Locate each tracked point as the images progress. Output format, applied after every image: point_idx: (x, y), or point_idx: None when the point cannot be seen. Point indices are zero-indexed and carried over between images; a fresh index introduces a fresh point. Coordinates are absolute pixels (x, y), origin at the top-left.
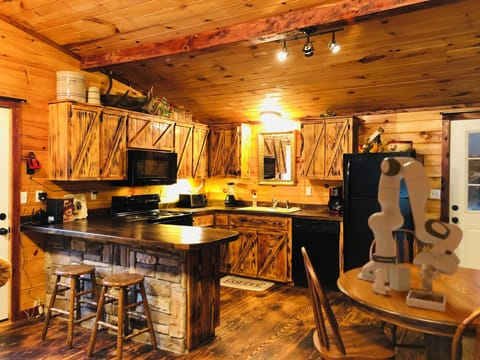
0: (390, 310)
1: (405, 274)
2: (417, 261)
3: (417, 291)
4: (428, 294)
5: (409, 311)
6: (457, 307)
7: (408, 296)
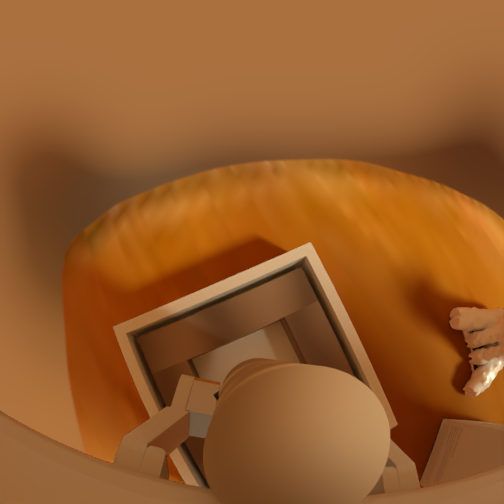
0: (307, 161)
1: None
2: (496, 494)
3: None
4: None
5: (252, 213)
6: None
7: (325, 285)
